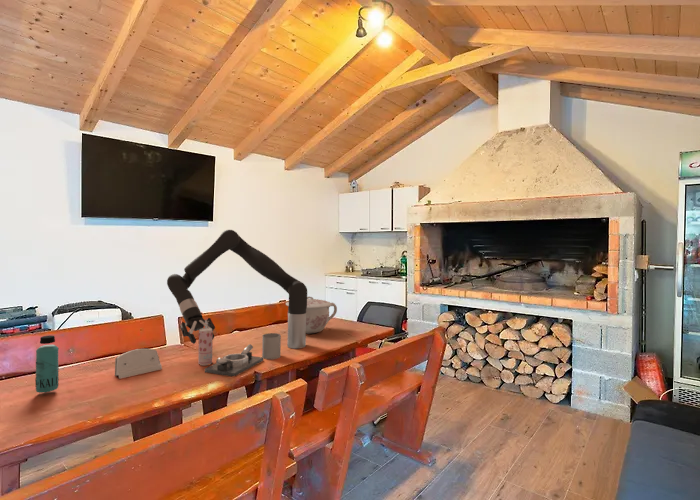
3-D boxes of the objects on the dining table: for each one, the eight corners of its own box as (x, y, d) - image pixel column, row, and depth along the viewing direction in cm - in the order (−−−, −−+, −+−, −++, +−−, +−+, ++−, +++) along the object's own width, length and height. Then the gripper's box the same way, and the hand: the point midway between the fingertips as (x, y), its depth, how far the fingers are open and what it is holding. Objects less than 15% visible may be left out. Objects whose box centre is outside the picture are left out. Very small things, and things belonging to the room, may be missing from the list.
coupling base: (237, 356, 183) (237, 342, 183) (264, 360, 178) (264, 345, 178) (203, 372, 161) (203, 356, 160) (232, 377, 156) (233, 360, 156)
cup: (283, 355, 186) (284, 334, 186) (273, 360, 179) (273, 338, 178) (269, 353, 190) (269, 332, 189) (258, 357, 182) (258, 336, 182)
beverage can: (204, 366, 168) (204, 331, 168) (195, 364, 171) (195, 329, 171) (215, 363, 173) (215, 329, 172) (206, 360, 176) (206, 327, 175)
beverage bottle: (43, 389, 140) (43, 333, 139) (63, 389, 140) (63, 333, 140) (30, 397, 133) (30, 338, 132) (51, 397, 134) (51, 338, 133)
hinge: (118, 379, 152) (115, 352, 154) (114, 380, 155) (111, 354, 157) (162, 368, 164) (159, 344, 166) (158, 370, 167) (155, 346, 169)
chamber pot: (276, 334, 226) (277, 298, 225) (296, 324, 252) (297, 292, 252) (322, 339, 218) (323, 301, 217) (338, 328, 244) (339, 295, 243)
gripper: (178, 308, 172) (191, 338, 165) (208, 304, 183) (221, 333, 176) (172, 318, 176) (185, 349, 169) (201, 314, 187) (215, 342, 180)
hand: (203, 340), depth 173 cm, fingers open, 8 cm apart
